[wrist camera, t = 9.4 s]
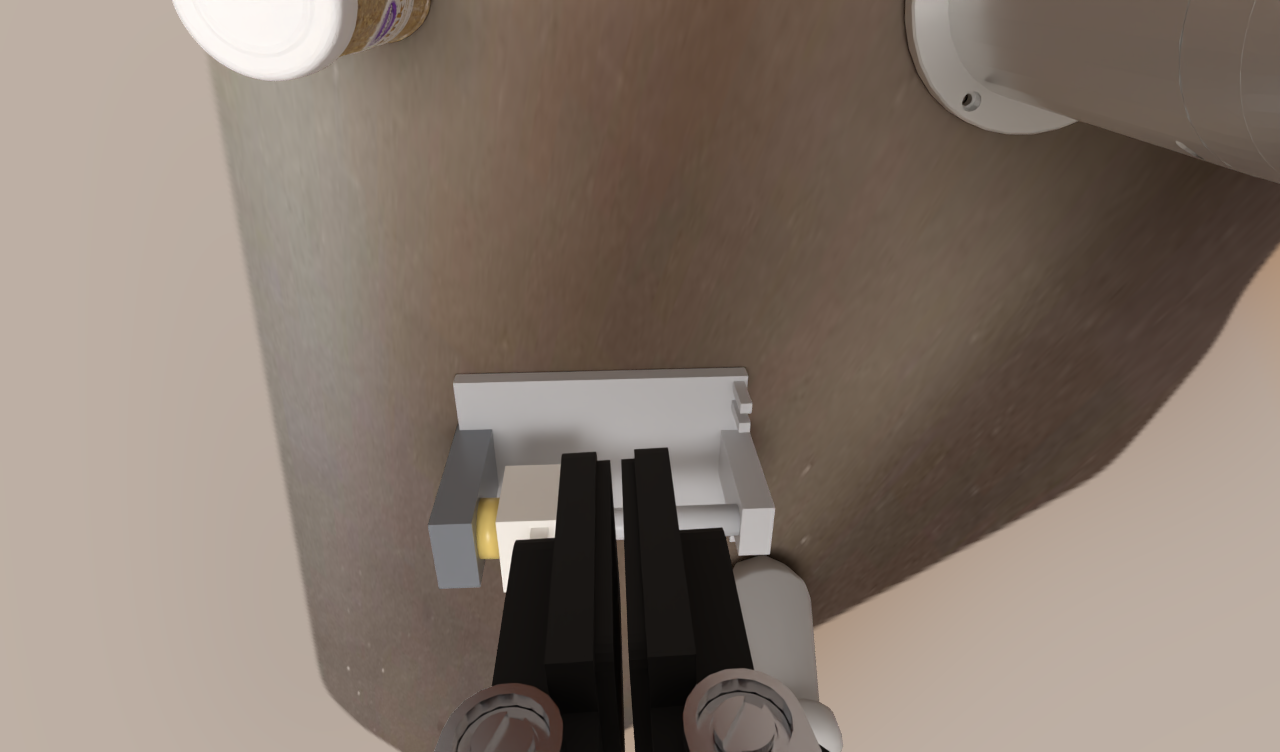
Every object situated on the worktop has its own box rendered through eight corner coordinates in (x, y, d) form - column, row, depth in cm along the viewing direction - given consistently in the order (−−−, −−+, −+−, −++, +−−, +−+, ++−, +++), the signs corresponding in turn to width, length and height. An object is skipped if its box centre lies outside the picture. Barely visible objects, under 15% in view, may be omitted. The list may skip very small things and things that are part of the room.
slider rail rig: (750, 367, 41) (786, 461, 34) (738, 507, 46) (768, 618, 38) (452, 374, 41) (418, 472, 33) (472, 516, 45) (446, 631, 38)
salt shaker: (746, 532, 47) (795, 711, 36) (817, 563, 49) (885, 743, 38) (698, 592, 50) (729, 778, 38) (767, 619, 51) (817, 805, 40)
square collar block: (583, 463, 38) (580, 600, 30) (586, 529, 40) (584, 673, 32) (505, 465, 38) (481, 604, 30) (512, 532, 40) (491, 677, 32)
